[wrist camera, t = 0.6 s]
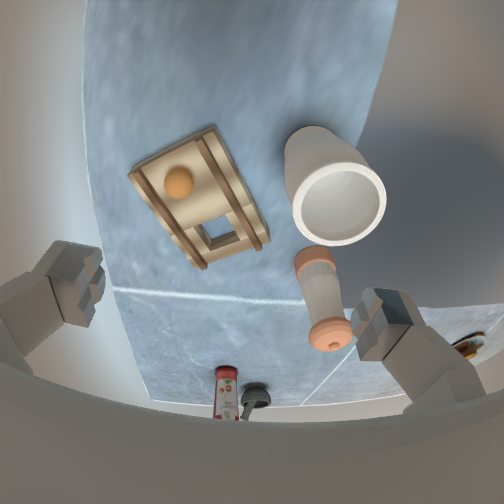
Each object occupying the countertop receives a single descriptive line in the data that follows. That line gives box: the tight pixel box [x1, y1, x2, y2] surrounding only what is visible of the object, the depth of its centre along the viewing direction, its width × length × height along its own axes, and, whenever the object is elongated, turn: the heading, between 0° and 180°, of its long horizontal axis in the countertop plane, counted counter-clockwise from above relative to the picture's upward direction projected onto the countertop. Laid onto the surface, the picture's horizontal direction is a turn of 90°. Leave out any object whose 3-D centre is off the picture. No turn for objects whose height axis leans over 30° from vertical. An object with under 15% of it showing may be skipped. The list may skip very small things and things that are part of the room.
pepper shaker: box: [294, 246, 353, 351], centre depth 48 cm, size 7×7×19 cm
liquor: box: [213, 367, 239, 421], centre depth 73 cm, size 7×7×28 cm
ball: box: [164, 169, 194, 199], centre depth 38 cm, size 4×4×4 cm
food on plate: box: [453, 334, 487, 360], centre depth 89 cm, size 25×25×7 cm
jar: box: [284, 126, 386, 246], centre depth 35 cm, size 11×10×15 cm
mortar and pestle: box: [240, 383, 271, 421], centre depth 89 cm, size 11×9×12 cm
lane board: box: [127, 125, 271, 270], centre depth 44 cm, size 20×14×4 cm
